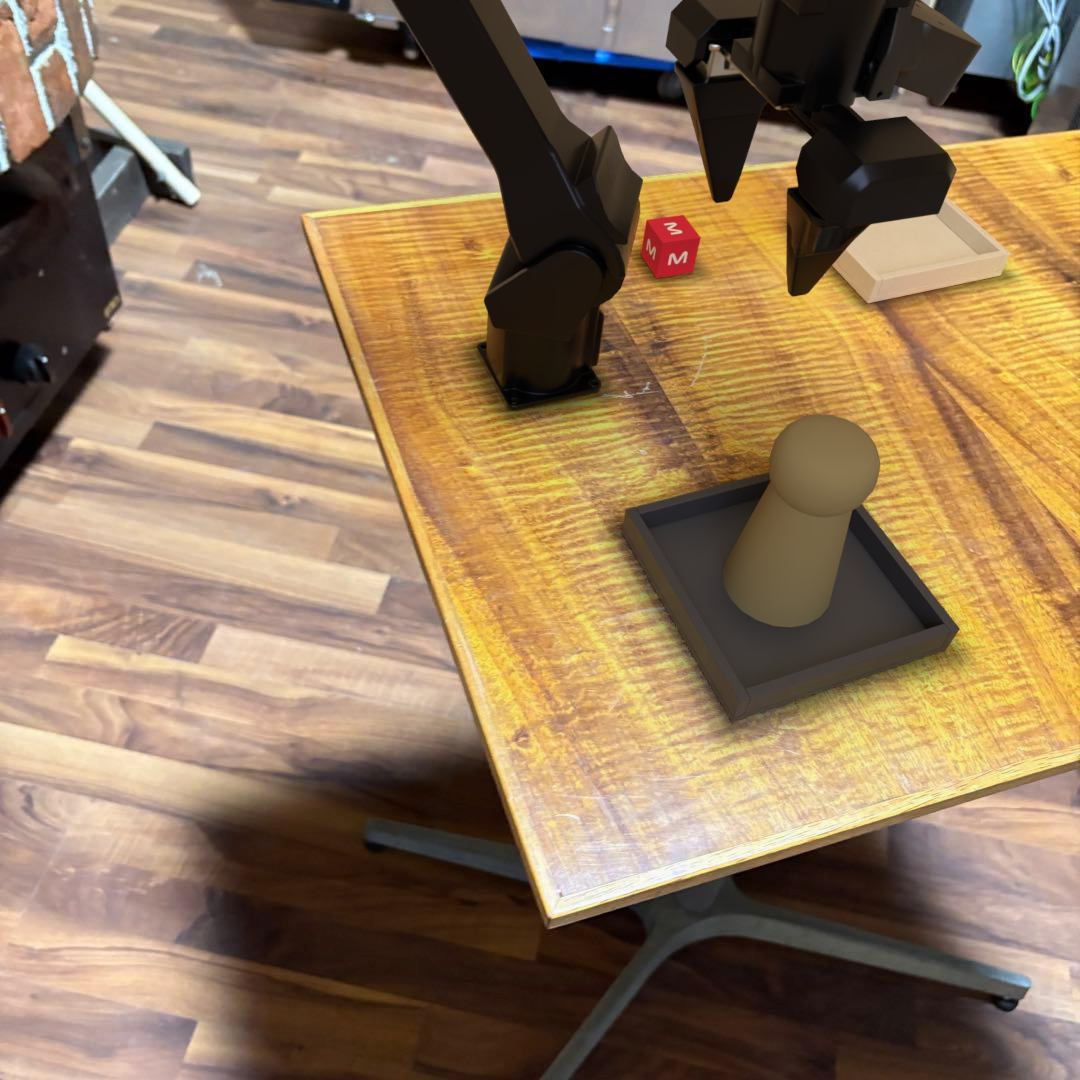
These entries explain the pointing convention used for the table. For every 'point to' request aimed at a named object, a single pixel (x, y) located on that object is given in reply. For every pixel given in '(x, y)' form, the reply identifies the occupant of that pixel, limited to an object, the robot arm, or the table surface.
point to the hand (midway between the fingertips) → (757, 245)
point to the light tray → (920, 255)
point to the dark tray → (772, 651)
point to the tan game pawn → (801, 521)
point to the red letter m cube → (670, 246)
